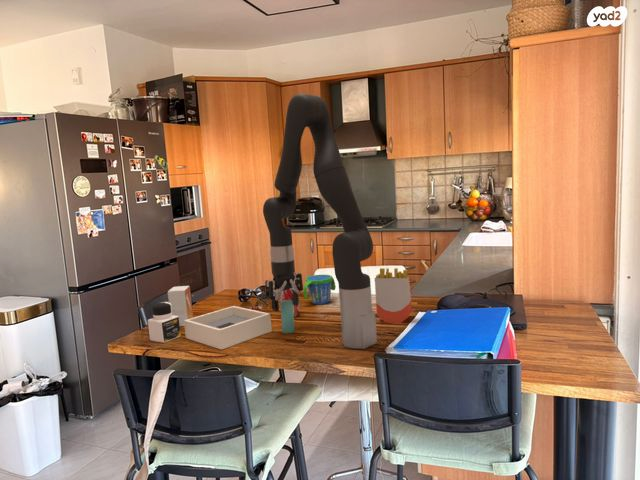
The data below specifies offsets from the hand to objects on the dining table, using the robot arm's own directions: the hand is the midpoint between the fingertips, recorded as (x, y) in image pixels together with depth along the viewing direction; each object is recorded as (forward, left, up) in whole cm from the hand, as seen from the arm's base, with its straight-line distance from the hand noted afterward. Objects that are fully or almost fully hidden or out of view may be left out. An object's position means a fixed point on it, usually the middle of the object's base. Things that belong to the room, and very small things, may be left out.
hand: (285, 308), depth 162 cm
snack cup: (+16, -32, -8) cm, 36 cm away
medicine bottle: (+31, +27, -8) cm, 42 cm away
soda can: (+13, -13, -8) cm, 20 cm away
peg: (0, 0, -8) cm, 8 cm away
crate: (+15, +13, -8) cm, 21 cm away
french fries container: (-23, -27, -8) cm, 37 cm away
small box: (+42, +14, -8) cm, 45 cm away
